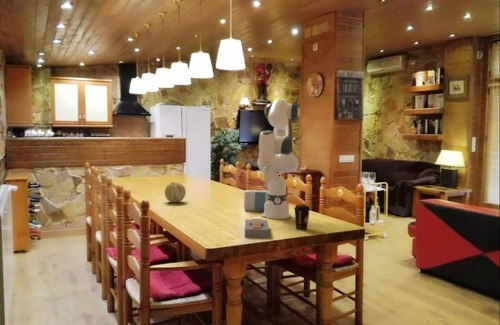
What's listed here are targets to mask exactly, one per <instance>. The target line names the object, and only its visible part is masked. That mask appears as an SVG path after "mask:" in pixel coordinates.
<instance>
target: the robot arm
mask: <svg viewBox="0 0 500 325" xmlns="http://www.w3.org/2000/svg"><path fill="white" fill-rule="evenodd" d="M300 114H301V108H300V106H299V105H298V104H297V103H289V102H287V101H286V100H284V99H281V98H278V99H276V100H274V101H273V102H270V103H268V104H266V106H265V108H264V116H265V118H266V119H267V121H268V122H269V124H270V125H271V126H272V127H273V130H270V129H269V130H262V131H260V134H259V138H258V150H259V151H258V152H259V153H258V157H257V161H256V164H257V167H258V169H259V170H260V171H261V172H262V177H263V178H262V179H263V181H264V185H265V186H264V187H265V188H267V189H268V190H267V191H268V196H267V200H268V201H267V202H266V203H265V205H264V208H265V209H264V211H262V214H261V215H260V217H261V218H262V217H264V218H268V219H274V220H284V219H287V218H293V217H292V214H290V204H289V203H288V201H287V198H288V195H287V182H286V180H285V179H284V178H282V177H280V176H279V175H278V173H292V172H296V171H298V169H299V167H300V162H299V161H300V160H299V159H298V157H297V156H296V155H295V154H294V153H293V151H294V149H295V142H294V138H293V126H292V125H293V124H294V123H295V122H296V121H297V120H299V117H300Z"/></svg>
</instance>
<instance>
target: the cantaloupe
mask: <svg viewBox="0 0 500 325" xmlns="http://www.w3.org/2000/svg"><path fill="white" fill-rule="evenodd" d="M164 196H165V198H166V200H167V201H168V202H170V203H180V202H182V201H183V200H184V198H185V197H186V188H185V186H184V185H183V184H182V183H180V182H175V181H174V182H171V183H169V184H167V186H166V187H165V189H164Z"/></svg>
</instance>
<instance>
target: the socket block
mask: <svg viewBox="0 0 500 325" xmlns="http://www.w3.org/2000/svg"><path fill="white" fill-rule="evenodd" d="M244 223H245V225H244V238H266V239H267V238H269V236H270V235H269V234H270V230H269V223H268V219H262V223H261V226H252V219H245V221H244Z"/></svg>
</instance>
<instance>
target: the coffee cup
mask: <svg viewBox="0 0 500 325" xmlns="http://www.w3.org/2000/svg"><path fill="white" fill-rule="evenodd" d="M293 210H294V220H295V229H296V230H298V231H306V230H307V229H308V224H309V218H310V217H309V216H310V210H311V208H310V206H309V205H307V204H296V205H295V207H294V209H293Z"/></svg>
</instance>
